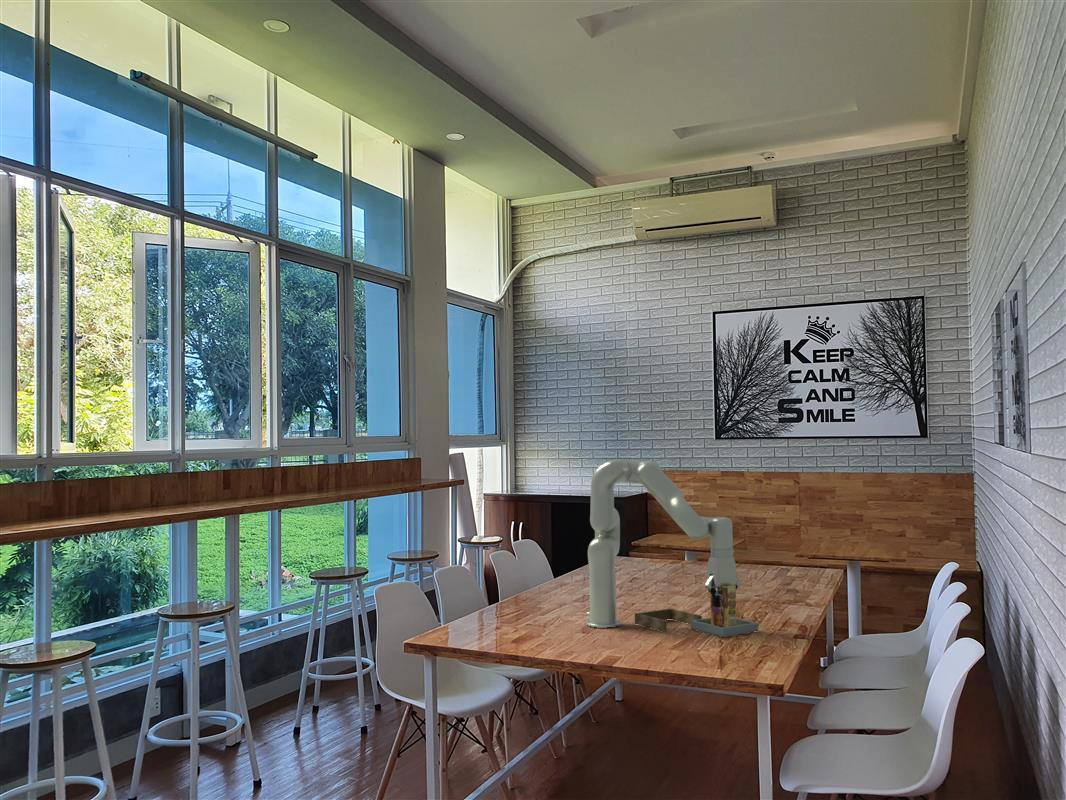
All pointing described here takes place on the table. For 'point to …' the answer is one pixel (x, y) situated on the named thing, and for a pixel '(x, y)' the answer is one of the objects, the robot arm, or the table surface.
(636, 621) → the walnut bay
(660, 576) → the table surface
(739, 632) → the slate tray
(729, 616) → the candy box
